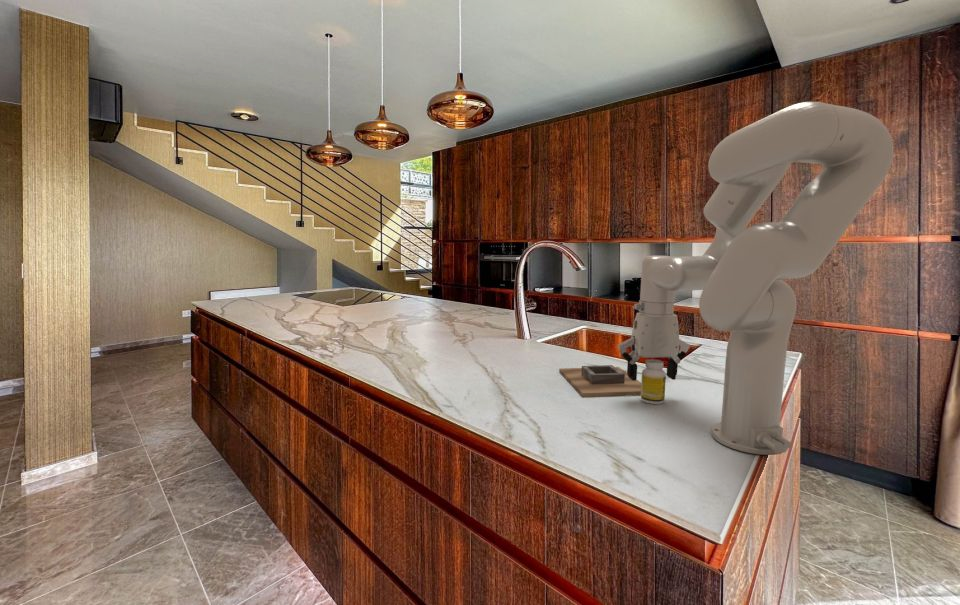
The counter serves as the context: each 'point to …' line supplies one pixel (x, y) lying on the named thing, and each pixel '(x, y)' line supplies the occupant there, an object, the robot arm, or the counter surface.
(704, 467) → the counter surface
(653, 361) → the supplement bottle
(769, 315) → the robot arm
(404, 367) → the counter surface
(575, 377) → the collar board
